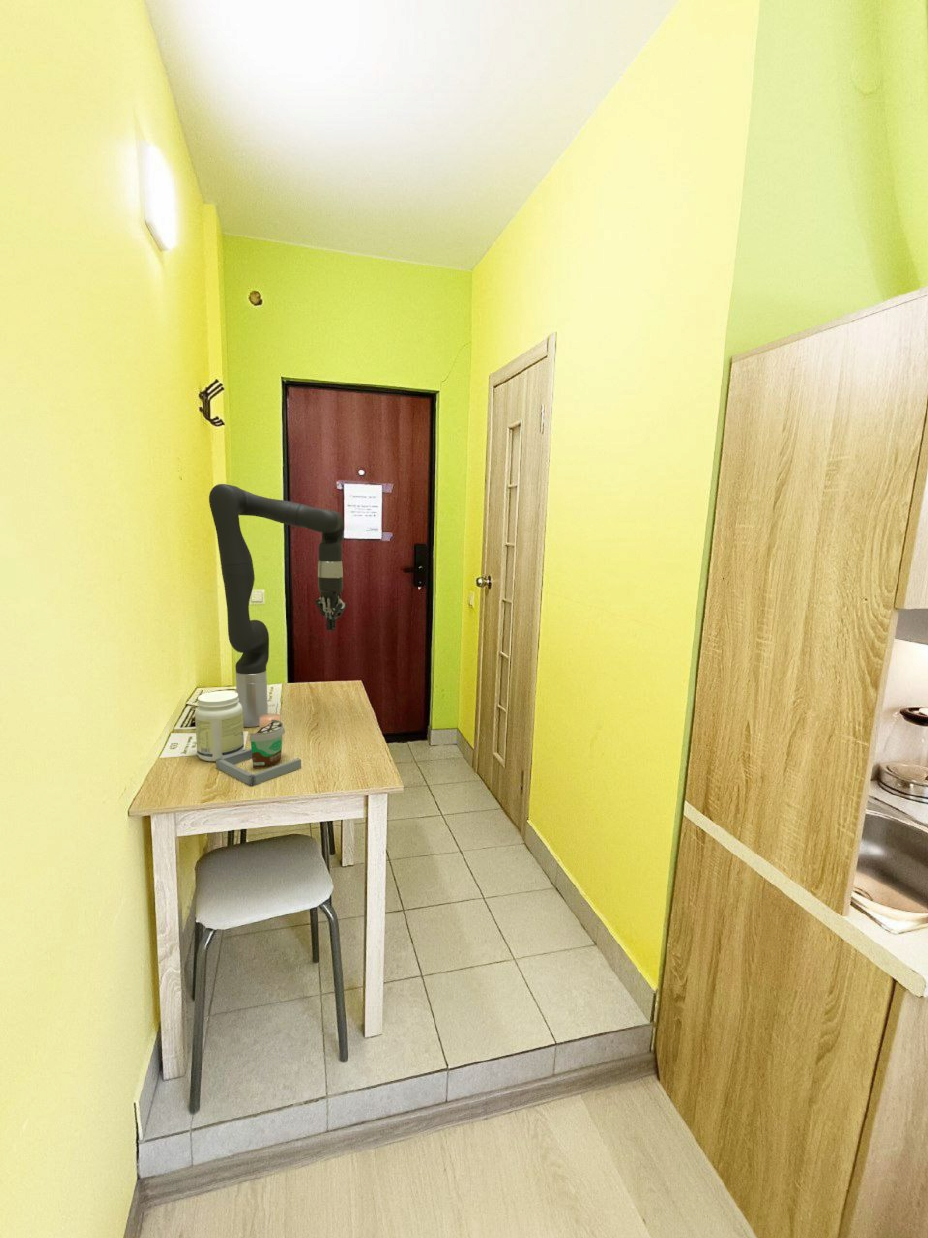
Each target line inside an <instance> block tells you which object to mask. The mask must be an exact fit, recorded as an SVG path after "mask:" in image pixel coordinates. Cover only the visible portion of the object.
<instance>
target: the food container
mask: <svg viewBox="0 0 928 1238" xmlns="http://www.w3.org/2000/svg"><path fill="white" fill-rule="evenodd" d="M285 732H286V729H285V726H284V723H283V722H282V720H281V721H278V720H274V719H271V723H270V724H269V725H267V726H265V727H262V728H261V729H260V728H259V730H258V731H257V732H255V733H253V732H250V733H249V740H248V741H249V742H250V747H251V750H252V758H251V759H252V766H253V767H252V768H254V769H262V768H263V769H264V768H271V767H275V766H277V764H278V765H279V763H281V761H282V751H283V749H282V747H283V735H284V734H285Z"/></svg>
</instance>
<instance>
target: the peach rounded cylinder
mask: <svg viewBox="0 0 928 1238" xmlns="http://www.w3.org/2000/svg"><path fill="white" fill-rule="evenodd" d="M271 719H274V720H278V721H281V722H282V715H281V714H279V713H268V714H265V715H262V716H260V726H259V730H260V729H261V728H262V727H265V726H267V725H269V724H270V723H271Z"/></svg>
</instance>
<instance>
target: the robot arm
mask: <svg viewBox="0 0 928 1238" xmlns="http://www.w3.org/2000/svg"><path fill="white" fill-rule="evenodd" d="M208 504H209V508H210V512H211V515H212V516H211V517H212V519H213V522H214V523H213V524H214V527H215V531H216V538H217V545H218V552H219V558H220V568H221V575H222V581H223V586H224V593H225V600H226V601H225V603H226V612H227V614H226V615H227V635H228V640H229V643H230V646H231V648H233V650H235V651H236V652H237V653H240V654H241V653H242V654H241V656H240V658H239V659H238V660H237V661H236V662H235V665H234V667H235V685H236V686H235V689H236V693H238V698H239V701H238V702H239V703H240V704H241V705H242V709H243V710H242V711H243V728H255V727H260V716H262V715H265V714H269V710H268V709H269V707H268V683H267V682H268V681H267V675H268V674H267V665H268V663H269V657H270V655H269V653H270V636H269V630H268V627H267V625H265V623H264V622H263V621H262V620H260V619H251V618H250V611H249V610H250V600H251V596H252V593H253V589H254V585H255V578H256V577H255V568H254V562H253V557H252V555H251V551H250V549H249V546H248V545H247V543H246V540H245V539H244V538H245V537H243V534H242V533H243V532H242V530H241V525H240V524H241V523H240V517H239V516H249V517H250V516H252V517H257V518H263V519H267V520H270V521H273V522H277V523H281V524H284V525H287V526H293V527H297V528H305V529H309V530H310V531H311V530H312V531H314V532H319V533H321V540H320V543H319V544H318V564H317V583H318V584H317V589H318V591H319V592H320V594H319V598H317V599H315V600H314V601H315V604H316V606H317V608H318V611H319V612H320V614H321V617H324V618H325V619H326V620H325V621H326V623H325V624H326V626H325V627H326V630H327V631H329V632H332V631H333V632H334V631H336V627H337V623H336V622H337V620H336V619H337V618H341V616H342V615H343V614H344V611H345V609H346V608H347V606H348V603H347V602H344V601H343V600H342V597H343V596H342V593H341V592H342V591H343V590H344V570H343V569H344V567H343V552H342V551H343V550H342V545H343V544H342V543H343V538H344V529H345V526H344V525H345V524H344V518H343V515H342V514H341V513H340V512H339V511H337V510H332V509H331V510H330V509H325V508H324V509H323V508H317V507H313V506H310V505H307V504H304V503H299V502H293V501H289V500H283V499H276V498H268V497H264V496H261V495H258V494H254V493H251V492H250V491H247V490H245V489H241V488H240V487H238V486H235V485H232V484H226V483H219V484H216V485H215V486H213V487H212V488H211V490H210V492H209V495H208Z"/></svg>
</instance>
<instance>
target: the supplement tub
mask: <svg viewBox="0 0 928 1238" xmlns="http://www.w3.org/2000/svg"><path fill="white" fill-rule="evenodd" d="M238 701H239V698H238V693H237V691H236V692H235V691H233V690H232V691H231V690H216V691H210V692H206V693H205V692H204V693H202V694H200V695H198V697H197V705H198V706H196V709H195V711H194V720H195V737H196V739H195V740H196V754H197V756H198V758H200V759H201V760H202V761H206V762H216V759H219V758H222V757H225V756H228V755H232V754H235V753H238V752H241V751H244V749H245V739H244V738H245V737H244V735H245V733H244V727H243V711H242V710H243V709H242V705H241V704H240V703H239V702H238Z"/></svg>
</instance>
